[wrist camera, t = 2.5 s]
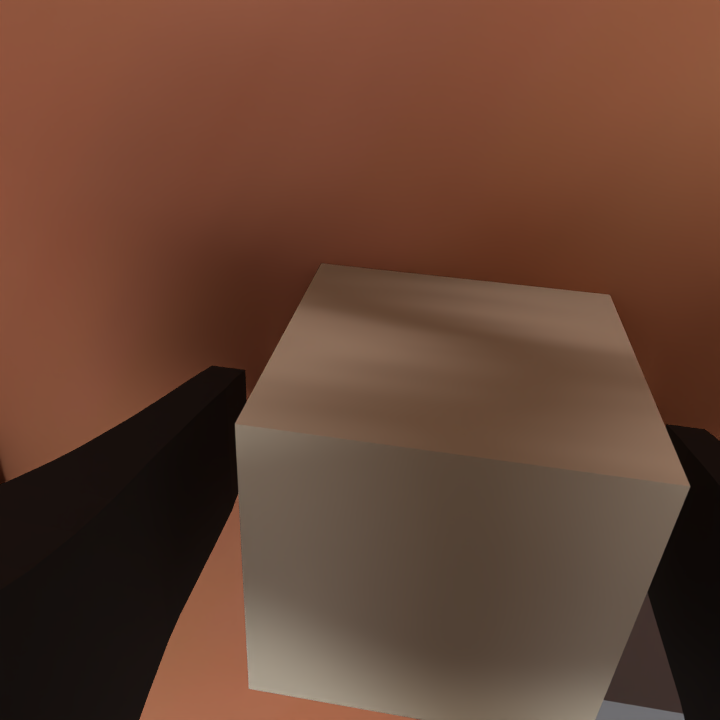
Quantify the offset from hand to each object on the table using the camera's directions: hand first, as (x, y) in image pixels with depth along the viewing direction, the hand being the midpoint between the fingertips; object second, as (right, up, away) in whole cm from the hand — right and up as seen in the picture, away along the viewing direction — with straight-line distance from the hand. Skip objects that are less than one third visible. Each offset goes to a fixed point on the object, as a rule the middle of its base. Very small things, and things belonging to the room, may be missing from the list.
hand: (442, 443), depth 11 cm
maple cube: (0, +1, +1) cm, 2 cm away
